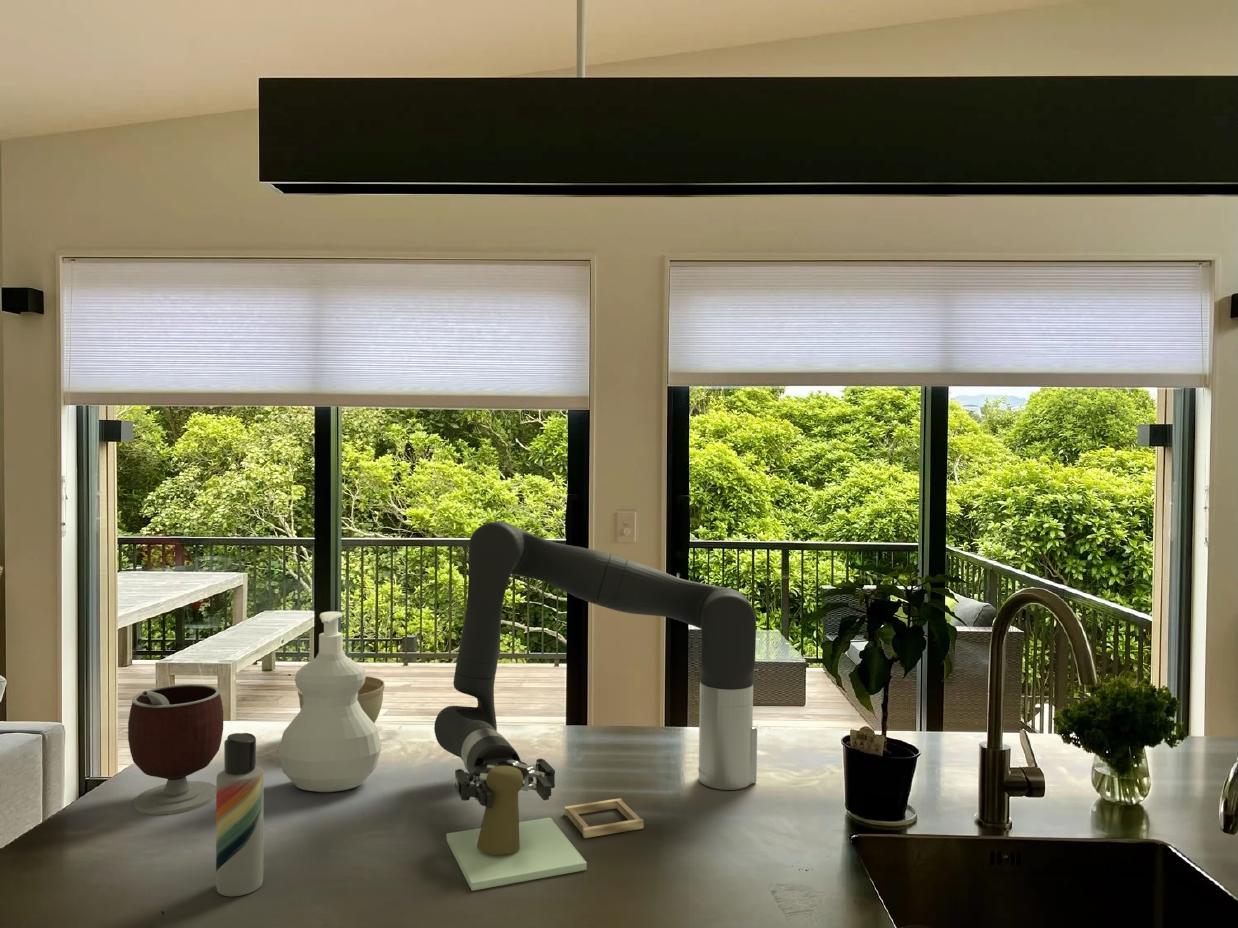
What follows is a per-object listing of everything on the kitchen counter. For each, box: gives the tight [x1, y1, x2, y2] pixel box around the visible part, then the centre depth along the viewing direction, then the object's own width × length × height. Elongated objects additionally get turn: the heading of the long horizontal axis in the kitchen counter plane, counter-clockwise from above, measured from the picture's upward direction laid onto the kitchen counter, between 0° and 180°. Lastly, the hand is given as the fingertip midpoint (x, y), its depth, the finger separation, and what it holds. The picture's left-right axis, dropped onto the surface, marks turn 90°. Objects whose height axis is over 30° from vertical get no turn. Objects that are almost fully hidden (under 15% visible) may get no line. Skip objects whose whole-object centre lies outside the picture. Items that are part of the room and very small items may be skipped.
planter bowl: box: [297, 675, 385, 724], centre depth 176 cm, size 16×16×11 cm
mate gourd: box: [127, 683, 224, 816], centre depth 145 cm, size 16×14×20 cm
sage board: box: [446, 817, 588, 891], centre depth 128 cm, size 16×16×1 cm
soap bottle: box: [278, 611, 382, 793], centre depth 153 cm, size 17×12×29 cm
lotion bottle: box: [215, 732, 265, 897], centre depth 118 cm, size 6×6×20 cm
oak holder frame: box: [563, 798, 645, 839], centre depth 140 cm, size 10×9×1 cm
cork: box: [477, 766, 524, 854], centre depth 128 cm, size 6×6×11 cm
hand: (518, 797), depth 126 cm, fingers open, 8 cm apart
